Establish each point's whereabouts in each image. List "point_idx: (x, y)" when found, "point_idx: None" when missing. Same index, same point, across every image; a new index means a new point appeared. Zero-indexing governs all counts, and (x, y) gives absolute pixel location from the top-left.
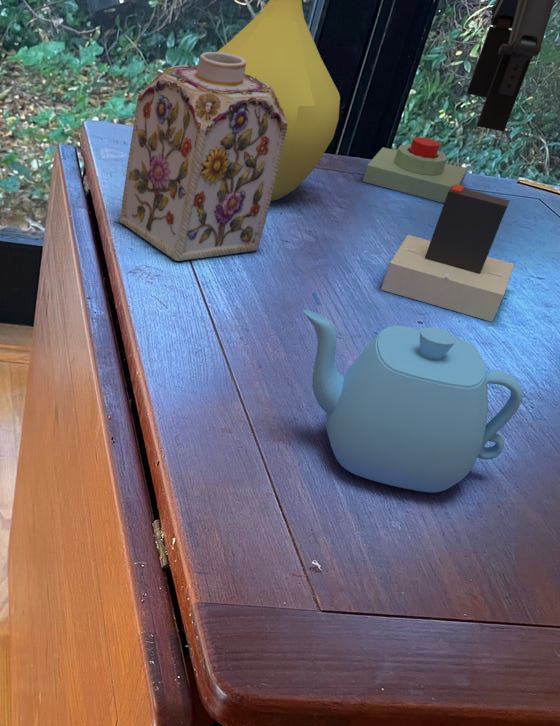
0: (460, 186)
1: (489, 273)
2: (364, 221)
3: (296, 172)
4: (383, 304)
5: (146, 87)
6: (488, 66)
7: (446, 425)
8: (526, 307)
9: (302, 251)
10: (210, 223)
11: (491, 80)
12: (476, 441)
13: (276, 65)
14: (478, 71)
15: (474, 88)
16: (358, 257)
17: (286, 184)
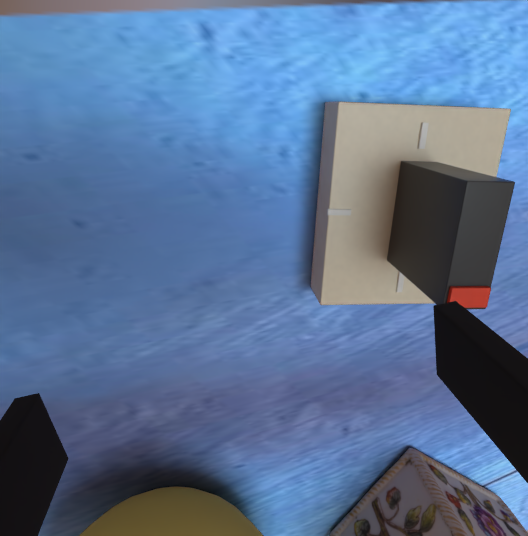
0: (460, 294)
1: (424, 145)
2: (166, 369)
3: (228, 513)
4: (494, 271)
5: None
6: (18, 508)
7: None
8: (379, 51)
9: (367, 404)
10: (494, 517)
11: (24, 449)
12: None
13: None
14: (38, 510)
15: (55, 460)
16: (337, 339)
17: (225, 503)
